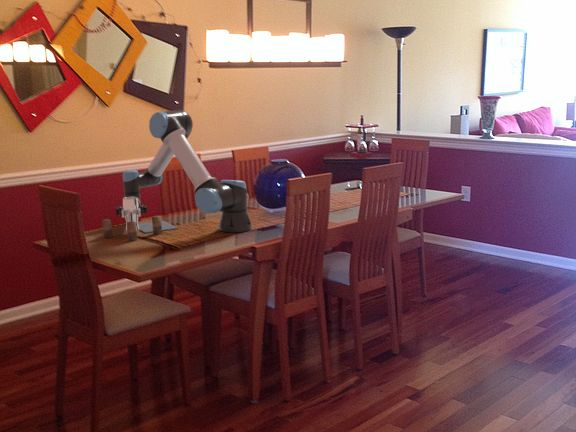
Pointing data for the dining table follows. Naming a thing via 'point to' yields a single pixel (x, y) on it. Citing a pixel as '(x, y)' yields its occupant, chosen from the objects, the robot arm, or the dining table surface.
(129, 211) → the beer glass
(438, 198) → the dining table surface
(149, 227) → the slate mat
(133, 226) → the walnut spacer posts
